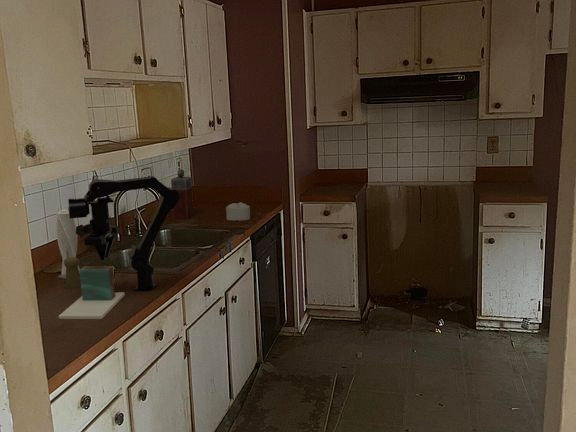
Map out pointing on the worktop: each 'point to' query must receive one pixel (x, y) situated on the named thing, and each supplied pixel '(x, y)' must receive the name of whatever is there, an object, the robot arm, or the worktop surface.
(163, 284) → the worktop surface
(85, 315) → the board
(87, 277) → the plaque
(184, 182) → the square decanter
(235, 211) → the lumpy-topped squat cylinder
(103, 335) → the worktop surface
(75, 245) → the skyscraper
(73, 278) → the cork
